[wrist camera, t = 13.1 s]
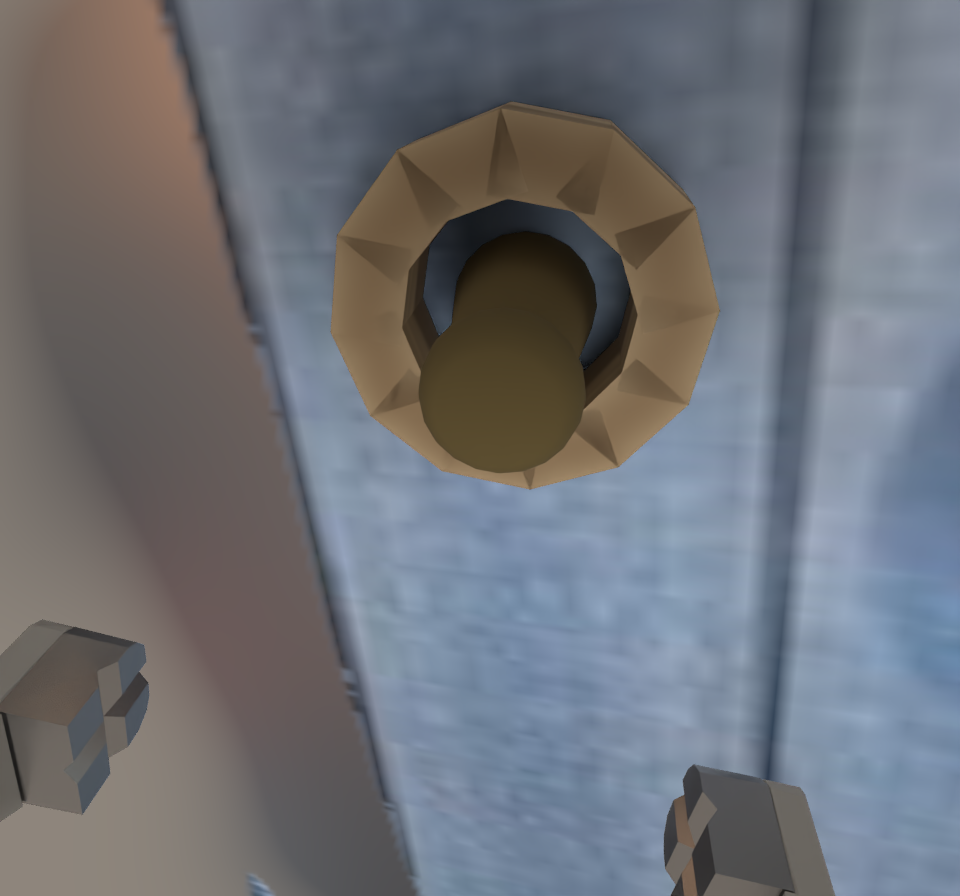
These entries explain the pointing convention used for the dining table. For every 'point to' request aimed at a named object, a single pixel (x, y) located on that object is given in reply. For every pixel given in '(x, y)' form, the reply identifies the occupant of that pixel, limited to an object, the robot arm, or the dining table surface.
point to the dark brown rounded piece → (511, 355)
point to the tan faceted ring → (548, 182)
